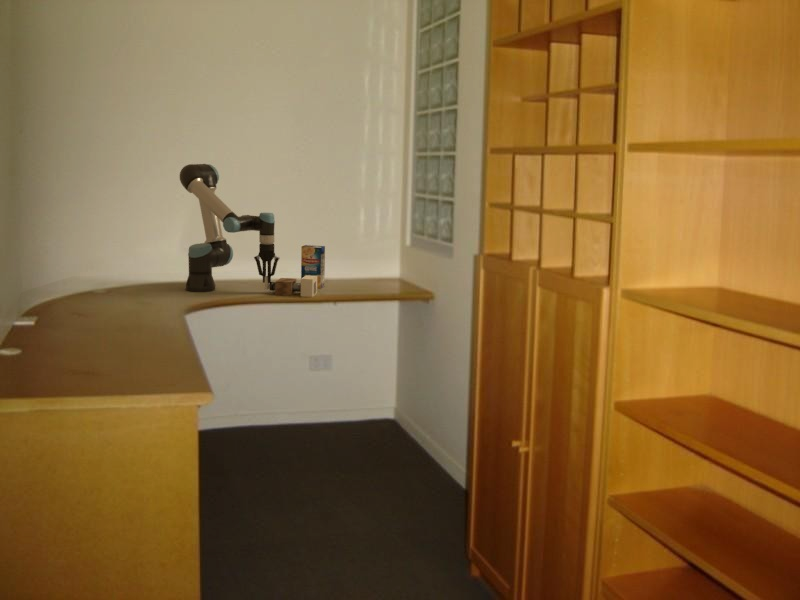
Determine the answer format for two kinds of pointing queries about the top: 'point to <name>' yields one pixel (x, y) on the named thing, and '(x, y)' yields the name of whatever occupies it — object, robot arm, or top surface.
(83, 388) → the top surface
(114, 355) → the top surface
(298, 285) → the tube
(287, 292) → the sleeve
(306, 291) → the socket
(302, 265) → the beverage box
